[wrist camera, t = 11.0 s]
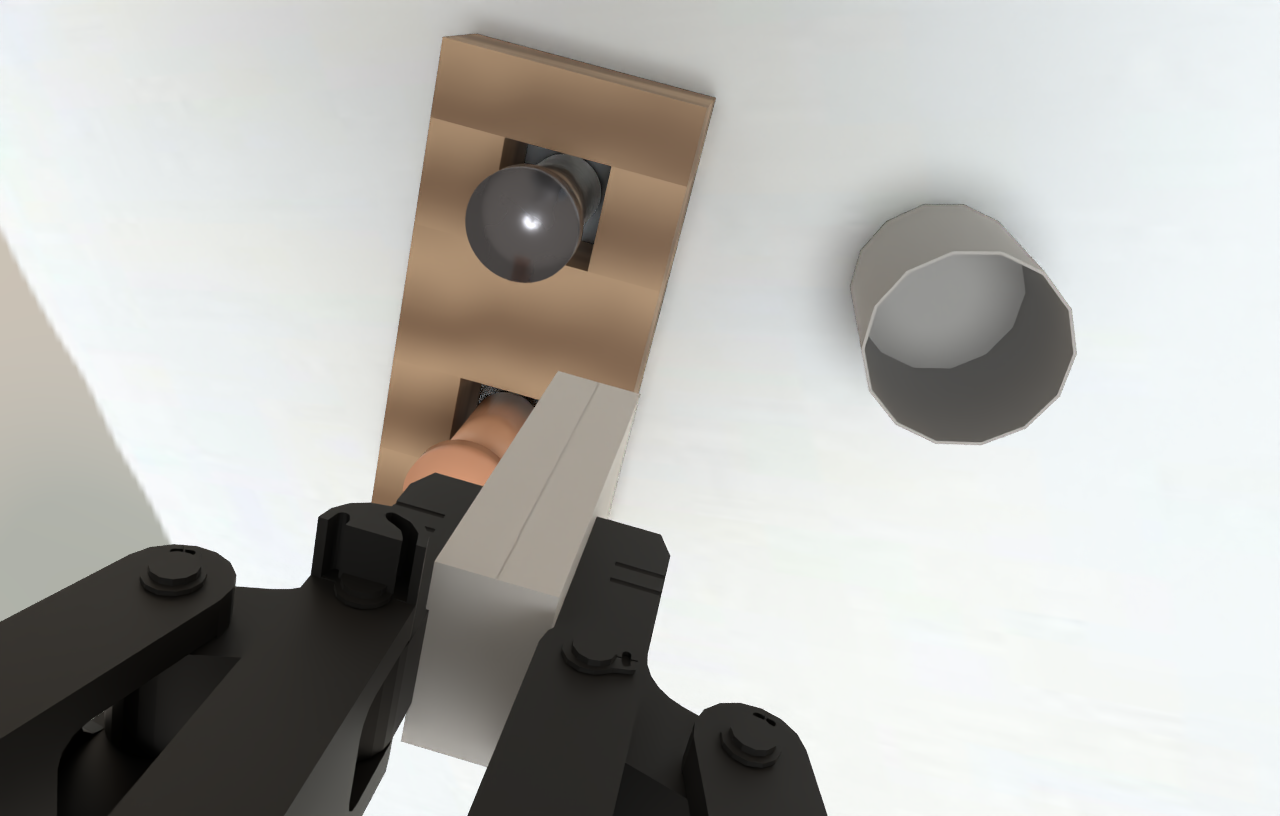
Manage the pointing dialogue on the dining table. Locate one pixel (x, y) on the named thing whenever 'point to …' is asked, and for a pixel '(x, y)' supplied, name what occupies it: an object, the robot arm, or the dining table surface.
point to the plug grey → (532, 216)
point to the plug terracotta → (475, 441)
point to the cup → (959, 326)
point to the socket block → (577, 294)
